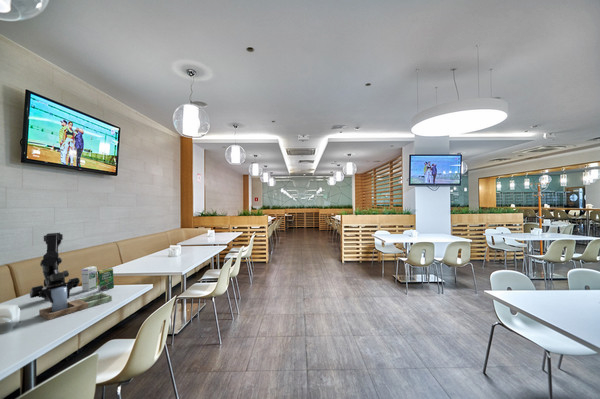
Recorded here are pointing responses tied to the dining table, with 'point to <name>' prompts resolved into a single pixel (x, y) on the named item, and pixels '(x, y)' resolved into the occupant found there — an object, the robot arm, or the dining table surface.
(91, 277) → the syrup box
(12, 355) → the dining table surface
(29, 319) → the dining table surface
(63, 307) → the canister
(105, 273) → the coffee box
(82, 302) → the caddy
